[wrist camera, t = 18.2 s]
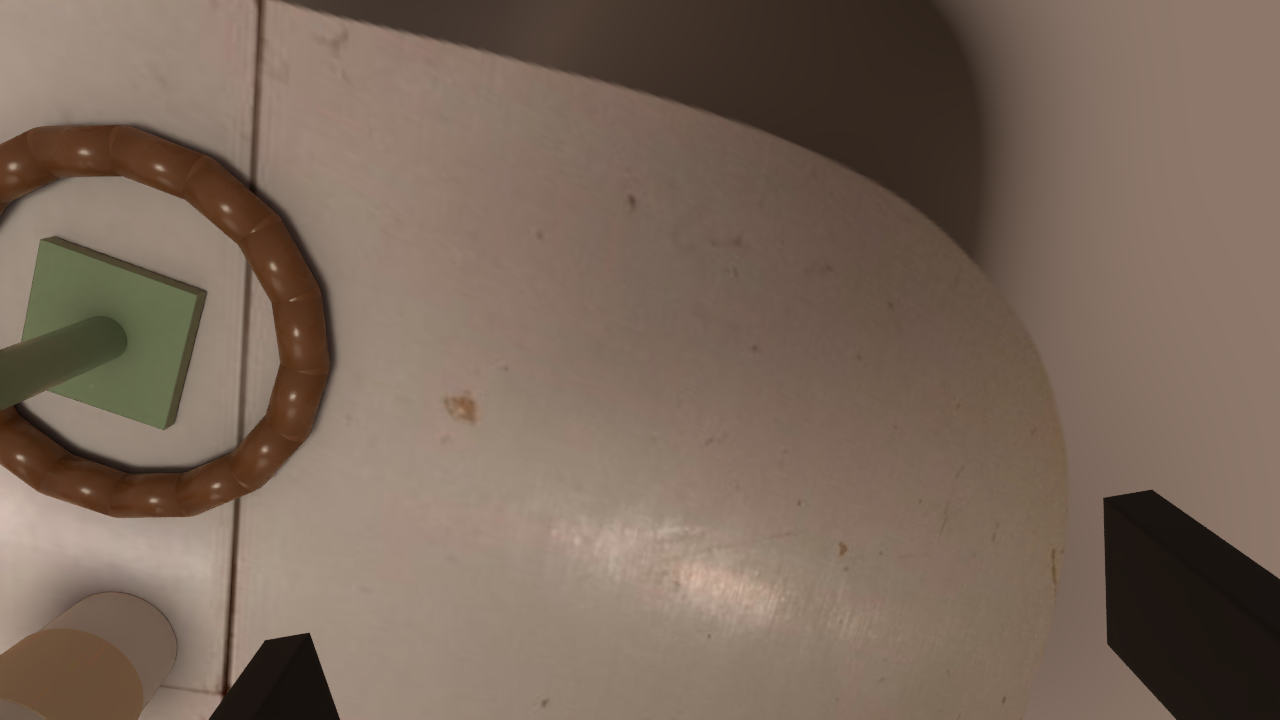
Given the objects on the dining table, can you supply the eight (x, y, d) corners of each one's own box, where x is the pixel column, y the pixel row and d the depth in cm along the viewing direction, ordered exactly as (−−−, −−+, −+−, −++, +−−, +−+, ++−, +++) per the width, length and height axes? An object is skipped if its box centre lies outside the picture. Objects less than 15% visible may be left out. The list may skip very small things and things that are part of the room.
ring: (-32, 59, 39) (-73, 55, 37) (381, 218, 41) (366, 223, 39) (-90, 431, 44) (-130, 447, 42) (278, 553, 47) (260, 575, 44)
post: (53, 236, 42) (-195, 283, 29) (207, 291, 42) (30, 360, 30) (27, 374, 44) (-215, 473, 31) (174, 423, 44) (-4, 540, 32)
